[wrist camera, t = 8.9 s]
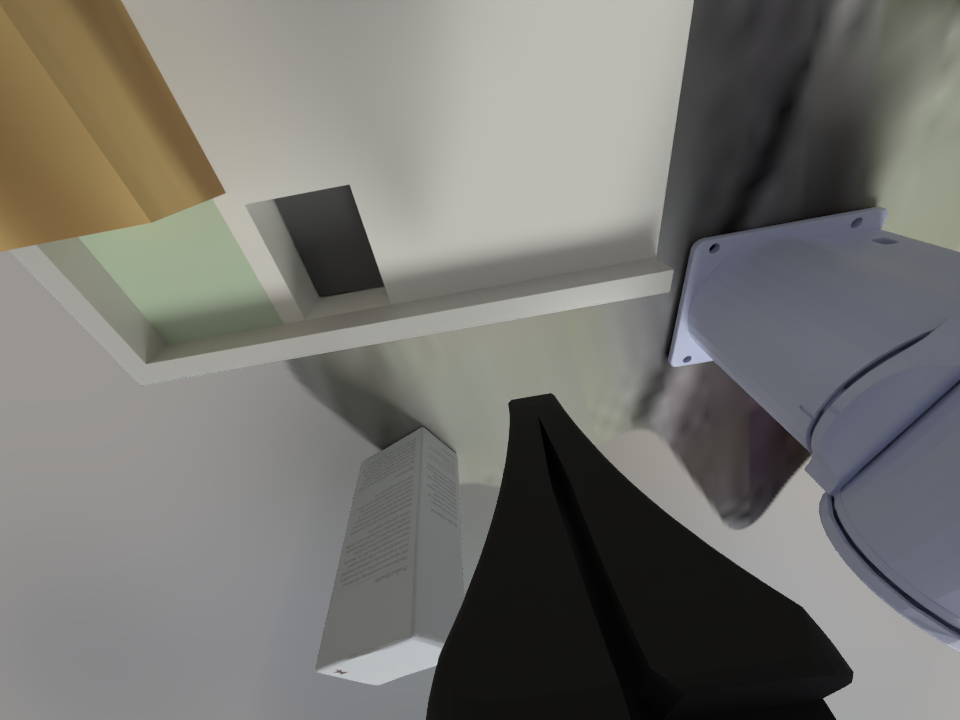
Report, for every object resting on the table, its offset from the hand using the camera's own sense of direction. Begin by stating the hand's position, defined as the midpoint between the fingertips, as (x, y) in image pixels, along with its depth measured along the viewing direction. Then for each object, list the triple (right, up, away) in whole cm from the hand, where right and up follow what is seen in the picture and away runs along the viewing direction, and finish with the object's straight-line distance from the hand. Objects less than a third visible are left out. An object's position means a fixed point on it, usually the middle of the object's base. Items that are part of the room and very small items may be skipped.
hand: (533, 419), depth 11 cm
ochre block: (-14, +9, 0) cm, 17 cm away
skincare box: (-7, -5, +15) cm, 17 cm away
